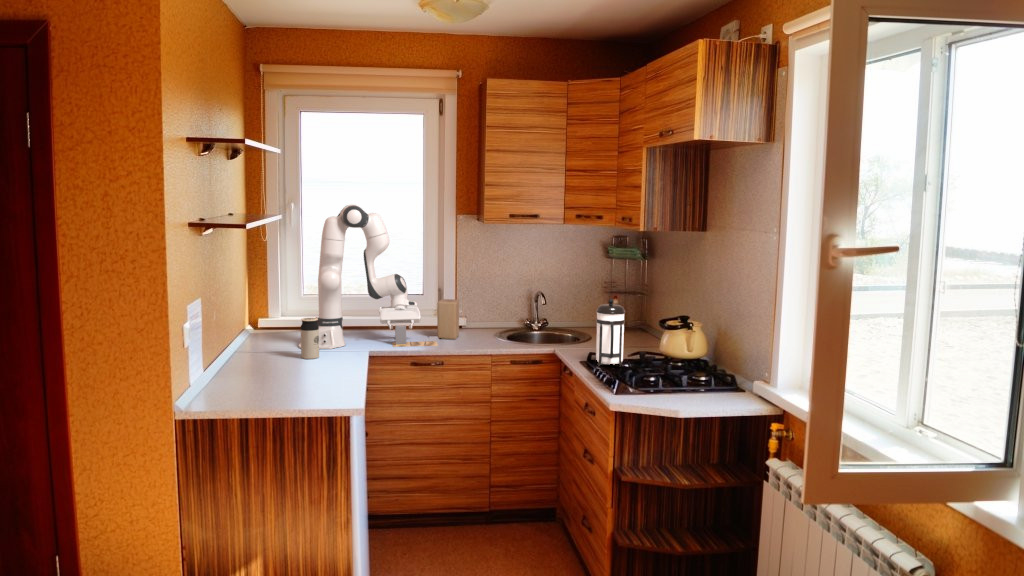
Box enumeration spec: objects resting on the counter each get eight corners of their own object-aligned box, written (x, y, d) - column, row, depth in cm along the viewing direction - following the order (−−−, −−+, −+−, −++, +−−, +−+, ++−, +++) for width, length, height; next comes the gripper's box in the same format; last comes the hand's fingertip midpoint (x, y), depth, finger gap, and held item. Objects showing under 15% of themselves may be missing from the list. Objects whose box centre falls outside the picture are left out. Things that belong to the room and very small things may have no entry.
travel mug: (297, 357, 349) (296, 319, 347) (311, 355, 355) (310, 316, 353) (309, 360, 344) (308, 320, 342) (322, 357, 351) (322, 318, 349)
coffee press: (583, 364, 342) (585, 298, 338) (609, 360, 351) (611, 295, 348) (611, 371, 328) (613, 302, 325) (637, 367, 338) (639, 300, 334)
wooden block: (459, 336, 408) (459, 299, 406) (455, 339, 398) (456, 301, 396) (440, 335, 409) (440, 298, 407) (437, 339, 399) (437, 301, 397)
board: (393, 349, 370) (392, 346, 369) (392, 345, 381) (392, 342, 381) (438, 348, 374) (438, 345, 374) (436, 344, 386) (436, 341, 385)
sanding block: (395, 345, 373) (395, 327, 372) (395, 343, 378) (395, 325, 377) (406, 345, 374) (406, 327, 373) (405, 343, 379) (405, 325, 378)
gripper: (378, 303, 381) (379, 326, 373) (419, 302, 385) (421, 324, 377) (378, 311, 386) (379, 333, 378) (419, 309, 390) (421, 332, 382)
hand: (401, 329), depth 377 cm, fingers open, 8 cm apart
